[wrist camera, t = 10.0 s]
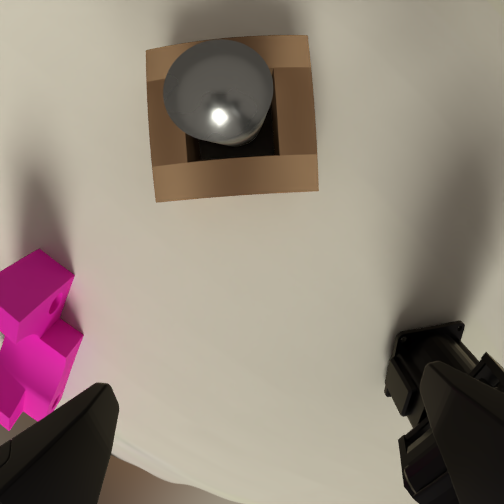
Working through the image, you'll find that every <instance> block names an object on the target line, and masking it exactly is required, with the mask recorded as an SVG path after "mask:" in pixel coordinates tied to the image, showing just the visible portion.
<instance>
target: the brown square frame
mask: <svg viewBox="0 0 504 504" xmlns="http://www.w3.org/2000/svg"><path fill="white" fill-rule="evenodd" d="M221 39H224V40H232V41H237V42H240V43H242V44H245V45H247V46H249V47H250V48H252V49H253V50H255V51H256V52H257V53H258V54H259V55H260V56H261V57H262V58H263V59H264V61H265V62H266V64H267V65H268V67H269V69H270V72H271V75H272V79H273V97H272V101H271V116H272V130H273V146H274V155H260V156H244V157H231V158H219V159H208V160H201V158H200V146H199V139H197V138H195V137H192V136H190V135H188V134H186V133H185V132H183V131H182V130H181V129H180V128H178V127H177V126H176V125H175V123H174V122H173V121H172V120H171V118H170V117H169V115H168V113H167V110H166V108H165V104H164V99H163V87H164V81H165V78H166V75H167V73H168V71H169V69H170V67H171V65H172V64H173V63H174V61H175V60H176V59H177V58H178V57H179V56H180V55H181V54H182V53H183V52H185V51H186V50H187V49H189V48H191V47H192V46H194V45H197V44H199V43H202V42H205V41H209V40H204V41H196V42H189V43H182V44H176V45H171V46H165V47H160V48H155V49H150V50H146V79H147V103H148V121H149V135H150V148H151V160H152V170H153V180H154V189H155V198H156V203H157V202H167V201H177V200H188V199H199V198H211V197H223V196H237V195H252V194H268V193H287V192H309V191H319V187H318V160H317V140H316V124H315V109H314V96H313V84H312V73H311V63H310V53H309V44H308V35H268V36H246V37H232V38H221ZM212 40H217V39H212Z"/></svg>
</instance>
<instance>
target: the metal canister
mask: <svg viewBox="0 0 504 504" xmlns="http://www.w3.org/2000/svg"><path fill="white" fill-rule="evenodd" d="M272 97H273V79H272V75H271V72H270V69H269V67H268V65H267V64H266V62H265V61H264V59H263V58H262V57H261V56H260V55H259V54H258V53H257V52H256V51H255V50H253V49H252V48H250V47H249V46H247V45H245V44H242V43H240V42H237V41H232V40H224V39H217V40H209V41H205V42H202V43H199V44H197V45H194V46H192V47H191V48H189V49H187V50H186V51H185V52H183V53H182V54H181V55H180V56H179V57H178V58H177V59H176V60H175V61H174V63H173V64H172V65H171V67H170V69H169V71H168V73H167V75H166V78H165V81H164V87H163V99H164V104H165V108H166V110H167V113H168V115H169V117H170V118H171V120H172V121H173V122H174V123H175V125H176V126H177V127H178V128H180V129H181V130H182V131H183V132H185V133H186V134H188V135H190V136H192V137H195V138H197V139H201V140H205V141H210V142H214V143H218V144H223V145H227V146H232V147H238V146H243V145H246V144H248V143H250V142H251V141H252V140H254V139H255V138H256V136H257V135H258V134H259V132H260V129H261V127H262V124H263V122H264V119H265V117H266V114H267V112H268V109H269V107H270V104H271V101H272Z"/></svg>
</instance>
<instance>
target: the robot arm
mask: <svg viewBox="0 0 504 504" xmlns="http://www.w3.org/2000/svg"><path fill="white" fill-rule="evenodd" d="M464 326H465V325H464V323H463V322H462V321H455V322H450V323H445V324H440V325H435V326H429V327H424V328H418V329H413V330H407V331H402V332H400V333H398V334H397V336H396V339H395V344H394V349H393V354H392V357H391V359H390V361H389V366H388V370H387V375H386V379H385V385H386V386H385V390H384V393H385V395H386V396H387V397H392V399H393V401H394V403H395V405H396V407H397V409H398V411H399V413H400V415H401V416H403V417H404V416H407V417H408V419H409V421H410V423H411V425H412V427H413V429H412V430H411V431H410V432H408V433H407V434H406V435H403V436H402V437H401V438H400V439H398V443H399V450H400V458H401V466H402V475H403V482H404V487H405V488H406V490H407V491H408V492H409V494H410V495H411V496H412V498H413V499H414V500H415V501H416V502H418V503H419V504H504V368H503V367H502V366H501V365H500V364H499V363H497V362H496V361H495V360H494V359H493V358H492V357H491V356H490V355H489V354H488V353H487V352H486V353H485V354H484V355H483V356H482V357H481V360H480V362H479V361H478V360H477V359H476V357H475V356H474V355H473V354H472V353H471V352H470V351H469V350H468V349H467V347H466V346H465V345H464V344H463V343H462V342H461V338H462V334H463V331H464ZM458 327H459V328H458ZM402 337H404V338H403V339H401V338H402ZM118 414H119V404H118V401H117V399H116V397H115V394H114V392H113V390H112V387H111V386H110V385H109V384H107V383H95V384H93V385H92V386H90V387H89V388H87V389H86V390H84V391H83V392H81V393H80V394H79V395H77V396H76V397H74V398H73V399H71V400H70V401H68V402H67V403H65V404H64V405H62V406H61V407H59V408H58V409H56V410H55V411H53V412H52V413H50V414H49V415H47V416H46V417H44V418H42V419H41V420H39V421H38V422H36V423H35V424H33V425H32V426H31V427H29V428H27V429H26V430H24V431H23V432H21V433H20V434H18V435H16V436H15V437H13V438H12V440H9V441H7V442H6V443H4V444H3V445H1V446H0V504H97V503H98V499H99V495H100V491H101V488H102V484H103V480H104V477H105V473H106V470H107V466H108V463H109V459H110V455H111V451H112V446H113V441H114V435H115V430H116V424H117V419H118Z"/></svg>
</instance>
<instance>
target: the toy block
mask: <svg viewBox="0 0 504 504" xmlns="http://www.w3.org/2000/svg"><path fill="white" fill-rule="evenodd" d="M74 276H75V275H74V274H73V273H71V272H70V271H68V270H67V269H66V268H64V267H63V266H62V265H60V264H59V263H58V262H56V261H55V260H54V259H52V258H51V257H50V256H48V255H47V254H46V253H45V252H43V251H42V250H41V249H38V250H36V251H34V252H32V253H31V254H29V255H27V256H26V257H24V258H22V259H20V260H19V261H17V262H15V263H14V264H12V265H10V266H9V267H7V268H6V269H4V270H2V271H1V272H0V331H1V332H2V333H3V334H4V335H5V338H4V341H3V345H2V347H1V350H0V424H1V425H2V426H4V427H5V428H6V429H7V430H9V431H10V429H11V428H12V426H13V425H14V423H15V422H16V420H17V419H18V418H19V416H20V415H21V413H22V411H24V412H25V413H27V414H28V415H29V416H31V417H32V418H33V419H35V420H36V421H39V420H41V419H42V418H44V417H46V416H47V415H49V414H50V413H52V412H53V411H54V409H55V408H56V406H57V404H58V403H59V401H60V400H61V398H62V395H63V392H64V389H65V386H66V383H67V380H68V377H69V374H70V371H71V368H72V365H73V362H74V360H75V357H76V354H77V351H78V349H79V346H80V344H81V341H82V338H83V336H84V335H83V334H82V333H80V332H79V331H77V330H76V329H74V328H73V327H72V326H70V325H69V324H67V323H66V322H65V321H63V320H62V319H61V318H60V316H61V313H62V310H63V307H64V304H65V301H66V298H67V295H68V293H69V290H70V287H71V284H72V281H73V279H74Z"/></svg>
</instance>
